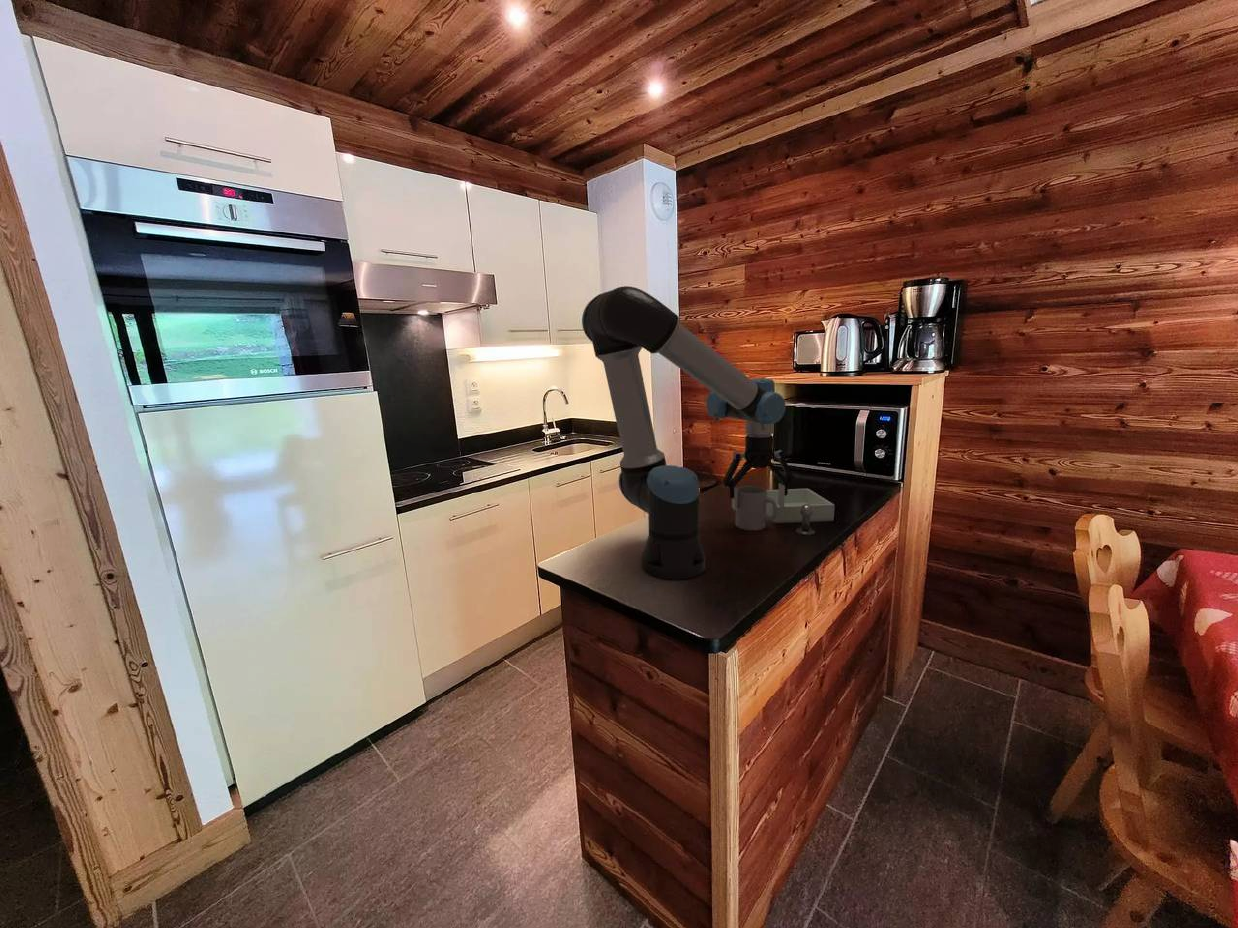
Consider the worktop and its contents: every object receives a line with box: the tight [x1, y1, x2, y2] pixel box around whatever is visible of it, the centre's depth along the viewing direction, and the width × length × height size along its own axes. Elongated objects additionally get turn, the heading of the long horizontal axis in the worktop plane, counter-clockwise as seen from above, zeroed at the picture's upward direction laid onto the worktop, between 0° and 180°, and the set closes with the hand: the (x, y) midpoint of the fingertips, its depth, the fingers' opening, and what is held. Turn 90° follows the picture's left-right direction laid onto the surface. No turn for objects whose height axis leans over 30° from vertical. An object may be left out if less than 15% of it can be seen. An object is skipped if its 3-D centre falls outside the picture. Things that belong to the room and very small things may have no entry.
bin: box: [766, 488, 836, 524], centre depth 150 cm, size 18×18×5 cm
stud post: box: [795, 504, 816, 536], centre depth 133 cm, size 5×5×8 cm
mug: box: [734, 485, 777, 531], centre depth 138 cm, size 12×8×11 cm
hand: (757, 507), depth 138 cm, fingers open, 13 cm apart
